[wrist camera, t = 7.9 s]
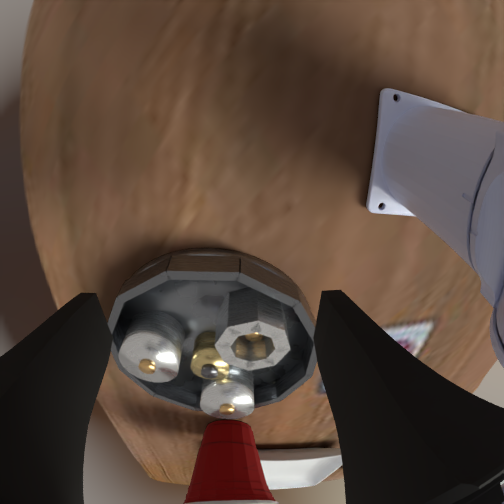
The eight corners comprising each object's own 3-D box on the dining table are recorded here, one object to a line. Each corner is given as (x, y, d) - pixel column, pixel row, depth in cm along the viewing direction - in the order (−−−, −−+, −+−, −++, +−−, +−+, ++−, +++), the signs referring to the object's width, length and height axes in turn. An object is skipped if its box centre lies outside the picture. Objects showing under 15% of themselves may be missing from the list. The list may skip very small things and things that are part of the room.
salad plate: (211, 475, 45) (211, 489, 42) (212, 439, 34) (210, 459, 31) (313, 473, 46) (315, 487, 43) (352, 435, 36) (356, 453, 33)
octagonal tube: (274, 280, 19) (280, 315, 16) (288, 326, 21) (294, 361, 18) (211, 295, 19) (206, 331, 17) (231, 338, 22) (230, 373, 19)
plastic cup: (263, 445, 35) (267, 518, 24) (187, 439, 34) (181, 513, 23) (283, 412, 30) (293, 506, 19) (188, 404, 28) (178, 502, 18)
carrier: (328, 249, 19) (349, 293, 15) (297, 387, 27) (303, 427, 23) (97, 246, 18) (67, 286, 14) (142, 382, 26) (132, 420, 22)
